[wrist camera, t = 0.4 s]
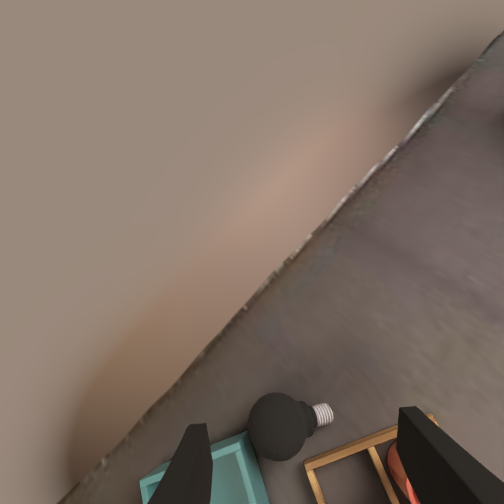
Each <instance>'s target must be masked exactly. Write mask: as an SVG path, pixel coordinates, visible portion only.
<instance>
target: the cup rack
mask: <svg viewBox="0 0 504 504" xmlns="http://www.w3.org/2000/svg"><path fill="white" fill-rule="evenodd" d="M425 415H426V416H427V417H428V418H430V419H431V420H432V421H433V422H434V423H435V424H436V425H437V426H438V424H437V423H436V421H435V419H434V417H433V416H432V415H430V414H428V413H426V414H425ZM438 427H439V426H438ZM397 429H398V425H395V426H392V427H390V428H387V429H385V430H382V431H379V432H377V433H374V434H372V435H369V436H366V437H364V438H361V439H359V440H356V441H353V442H351V443H348V444H346V445H343V446H340V447H338V448H335V449H333V450H330V451H327V452H325V453H322V454H320V455H317V456H314V457H312V458H309V459H307V460H304V467H305V470H306V472H307V475H308V478H309V481H310V484H311V486H312V489H313V492H314V495H315V498H316V500H317V503H318V504H326V502H325V499H324V497H323V494H322V491H321V488H320V486H319V483H318V480H317V478H316V475H315V472H314V469H315V468H318V467H321V466H323V465H326V464H328V463H331V462H334V461H336V460H339V459H341V458H344V457H347V456H349V455H352V454H354V453H357V452H360V451H362V450H365V449H367V450H368V452H369V454H370V457H371V459H372V461H373V464H374V466H375V468H376V470H377V473H378V475H379V477H380V480H381V482H382V484H383V486H384V489H385V491H386V493H387V495H388V498H389V500H390V502H391V504H400V503H399V501H398V499H397V496H396V494H395V492H394V490H393V488H392V485H391V483H390V481H389V479H388V476H387V474H386V472H385V470H384V468H383V465H382V463H381V461H380V459H379V456H378V454H377V452H376V450H375V447H374V446H375V445H378V444H381V443H383V442H386V441H388V440H391V439H394V438H396V437H397Z"/></svg>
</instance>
